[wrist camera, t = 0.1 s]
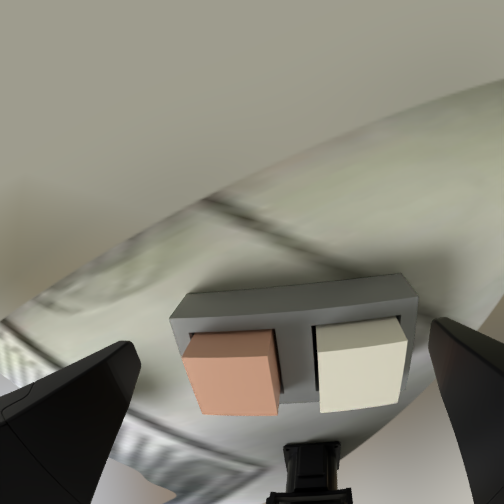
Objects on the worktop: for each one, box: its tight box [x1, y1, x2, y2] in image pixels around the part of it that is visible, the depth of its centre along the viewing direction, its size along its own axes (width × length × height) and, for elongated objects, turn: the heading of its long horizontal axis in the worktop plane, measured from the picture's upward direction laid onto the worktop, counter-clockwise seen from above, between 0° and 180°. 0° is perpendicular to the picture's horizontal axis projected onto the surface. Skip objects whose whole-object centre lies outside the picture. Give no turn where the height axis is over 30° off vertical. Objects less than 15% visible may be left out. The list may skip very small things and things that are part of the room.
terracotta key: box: [181, 329, 282, 416], centre depth 21 cm, size 6×6×4 cm
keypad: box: [169, 273, 419, 404], centre depth 23 cm, size 9×17×4 cm, turn 100°
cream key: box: [316, 316, 408, 413], centre depth 20 cm, size 6×6×4 cm
